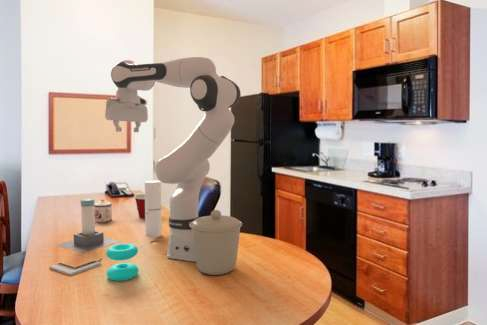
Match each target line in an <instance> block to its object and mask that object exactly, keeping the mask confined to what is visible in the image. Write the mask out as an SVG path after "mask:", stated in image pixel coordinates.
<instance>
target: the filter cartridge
mask: <svg viewBox="0 0 487 325" xmlns="http://www.w3.org/2000/svg"><path fill="white" fill-rule="evenodd" d="M94 204H95V199H93V198H84V199H81V200H80V212H81V214H80V215H81V232H82V235H83V236H90V235H94V234H95V231H96V222H95V214H94Z"/></svg>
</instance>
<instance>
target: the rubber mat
mask: <svg viewBox="0 0 487 325" xmlns="http://www.w3.org/2000/svg"><path fill="white" fill-rule="evenodd" d="M101 265H102V262H101V261H97V260H93V261H90V262H87V263H83V264H81V265H78V266H71V265H69V264H65V263H61V262H59V263H55V264H53V265H49V268H48V269H50V270H53V271H56V272H59V273H61V274H63V275H68V276H73V275H76V274H79V273H83V272H84V271H88V270H91V269H93V268H95V267H98V266H101Z"/></svg>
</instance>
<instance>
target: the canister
mask: <svg viewBox="0 0 487 325" xmlns="http://www.w3.org/2000/svg"><path fill="white" fill-rule="evenodd" d="M242 226H243V223H242V221H241V220H239V219H237V218H236V217H233V216H231V215H229V216H228V215H222V212H221V211H220V210H218V209H215V210H212V211H211V212H210V215H205V216H199V218H197V219H195V220H194V221H192V222H191V223H190V227H191V228H192V236H193V245H194V252H195V259H196V262H195V265H196V268H197V270H198V271H199V272H200V273H202V274H205V275H210V276H220V275H224V274H225V275H226V274H229V273H231V272H232V271H233V270H234V268H235V266H236V264H237V261H238V260H237V258H238V253H239V252H238V250H239V244H240V243H239V241H240V233H241V227H242Z"/></svg>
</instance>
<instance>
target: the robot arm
mask: <svg viewBox="0 0 487 325" xmlns="http://www.w3.org/2000/svg"><path fill="white" fill-rule="evenodd" d="M216 69H217V68H216V65H215V63H214V61H212V60H211V59H210V58H208V57H203V56H202V57H201V56H190V57H183V58H178V59H173V60H172V59H171V60H167V61H162V62H161V61H159V62H156V63H155V62H154V63H145V64H144V63H143V64H137V63H136V62H135V61H133V60H128V59H125V60H121V61H119V62H117V63H116V64H115V65H114V66H113V67H112V69H111V72H110V78H111V80H112V82H113V83H114V85H115V86H116V89H115V97H109V98H107V100H105V101H106V102H105V111H104V112H105V114H104V118H105V119H106V121H112V124H113V126H114V128H115V131H116V132H117V133H118V132H119V133H120V132H122V127H121V126H120V125H119V123H120V122H131V123H132V122H134V124H135V127H133V133H139V132H140V127H141V125H142V123H147V121H148V118H149V117H148V116H149V113H148V112H149V111H148V107H147V105H148V104H147V103H148V101H147V100H146V99H144V98H143V97H141V96H140V95H138V94H139V93H138V91H145V92H147V91H150V90H151V89H152V88H153V87H154V85H155V82H156V83H160V84H163V85H168V86H171V87H177V88H181V89H182V88H183V89H188V88H189V93H190V97H191V98H192V100H193V102H194V103H195V104H196V105H197V107H198V109H199V111H202V112H205V113H204V116H203V117H202V119H201V120H200V121H199V123H198V124H197V125H196V127H195V128H194V129H193V131H192V132H191V133H190V134H189V136H188V137H187V138H186V139H185V140H184V141H183V142H181V143H180V145H179V146H177V147H176V148H175V149H173V150H172V151H170V153H169V154H167V155H165V156H164V157H161V158H160V159H158V160H157V161H156V164H155V167H154V171H155V172H154V173H155V176H156V178H157V179H158V181H161V184H167V185H168V184H169V185H176V184H177V186H176V187H175V189H174V192H172V194H171V195H170V198H169V217H168V227H169V233H168V234H169V236H168V243H167V248H166V251H165V252H166V258H167V259H172V260H180V261H187V262H194V263H196V259H195V252H194V245H193V236H192V228H191V227H190V223H191V222H192V221H194V220H195V219H197V218H200V216H199V197H200V191H201V188H202V184H203V182H204V179H205V178H206V176H208V174H209V171H210V169H211V168H210V161H209V159H210V158H211V157H212V156H213V155H214V153H215V152H216V150H218V148H219V147H220V146H221V145H222V143H223V142H224V141H225V139H226V138H227V137H228V136H229V133H230V132H231V130H232V129H233V126H234V124H235V116H234V113H233V112H232V111H231V110H230V108H232V107H234V106H236V105H237V104H238V103H239V102H240V99H241V89H240V87H239V86H238V84H237V83H236V82H235V81H233V80H231V79H229V78H227V77H226V76H224V75H221V76H220V75H218V73H217V70H216Z"/></svg>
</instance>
